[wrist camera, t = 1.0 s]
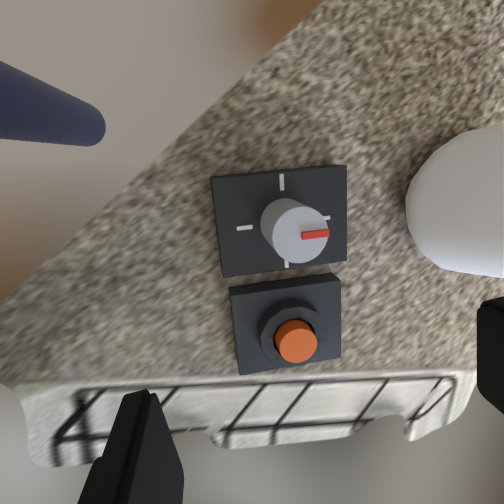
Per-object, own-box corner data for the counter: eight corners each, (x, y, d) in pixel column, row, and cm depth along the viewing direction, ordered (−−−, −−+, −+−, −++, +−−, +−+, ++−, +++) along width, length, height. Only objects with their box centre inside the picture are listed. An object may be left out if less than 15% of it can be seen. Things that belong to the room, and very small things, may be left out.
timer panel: (221, 269, 32) (223, 278, 30) (210, 176, 30) (211, 178, 27) (336, 253, 34) (347, 261, 31) (335, 164, 31) (347, 164, 28)
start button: (276, 355, 32) (280, 366, 30) (273, 322, 31) (278, 332, 29) (311, 349, 32) (317, 359, 30) (310, 316, 31) (316, 325, 29)
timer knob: (261, 249, 30) (275, 268, 25) (258, 200, 28) (270, 210, 23) (308, 243, 30) (330, 260, 25) (306, 195, 29) (329, 203, 24)
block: (237, 362, 35) (242, 387, 32) (228, 287, 33) (232, 304, 29) (333, 346, 37) (348, 368, 33) (332, 272, 34) (348, 286, 30)
